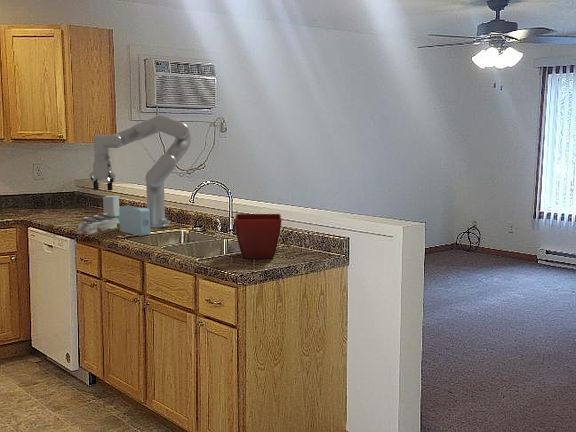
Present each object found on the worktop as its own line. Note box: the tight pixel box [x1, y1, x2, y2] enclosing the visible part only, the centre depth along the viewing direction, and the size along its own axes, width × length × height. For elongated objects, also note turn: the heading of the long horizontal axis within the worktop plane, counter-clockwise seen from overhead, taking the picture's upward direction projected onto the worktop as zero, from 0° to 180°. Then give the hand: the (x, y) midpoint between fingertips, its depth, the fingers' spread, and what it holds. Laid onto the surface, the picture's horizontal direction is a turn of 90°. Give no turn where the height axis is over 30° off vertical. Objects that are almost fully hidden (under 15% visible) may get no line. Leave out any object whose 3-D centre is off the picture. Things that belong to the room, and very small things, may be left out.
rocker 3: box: [101, 213, 116, 219], centre depth 371 cm, size 6×4×2 cm, turn 66°
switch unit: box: [74, 218, 120, 236], centre depth 364 cm, size 14×26×5 cm, turn 156°
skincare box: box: [102, 195, 120, 223], centre depth 390 cm, size 8×7×16 cm
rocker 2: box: [91, 214, 106, 221], centre depth 364 cm, size 6×4×2 cm, turn 66°
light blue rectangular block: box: [119, 205, 151, 237], centre depth 355 cm, size 23×6×13 cm, turn 41°
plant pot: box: [234, 213, 282, 259], centre depth 291 cm, size 19×19×17 cm
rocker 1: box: [81, 216, 96, 223], centre depth 357 cm, size 6×4×2 cm, turn 66°
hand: (103, 189), depth 372 cm, fingers open, 9 cm apart
